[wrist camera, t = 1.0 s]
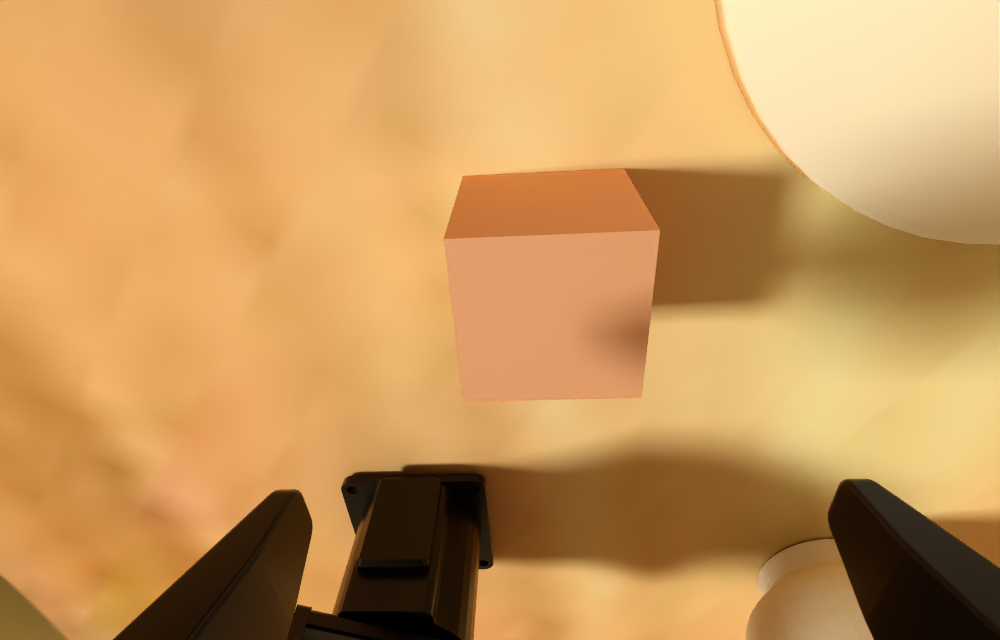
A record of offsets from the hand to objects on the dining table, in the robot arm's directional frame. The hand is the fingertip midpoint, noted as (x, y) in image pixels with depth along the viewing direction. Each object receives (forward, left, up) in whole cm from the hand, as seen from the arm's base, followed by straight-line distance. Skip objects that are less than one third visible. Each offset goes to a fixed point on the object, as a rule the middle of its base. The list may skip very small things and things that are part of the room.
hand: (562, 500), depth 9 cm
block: (0, 0, -11) cm, 11 cm away
